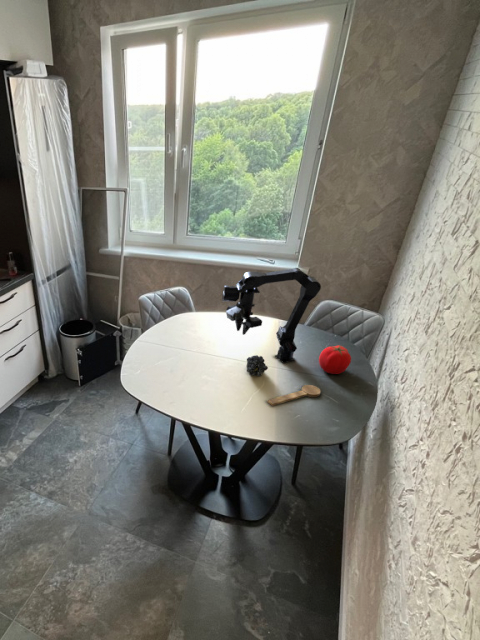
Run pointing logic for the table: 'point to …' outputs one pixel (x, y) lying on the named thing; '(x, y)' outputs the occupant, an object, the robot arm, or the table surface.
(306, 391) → the spoon
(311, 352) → the table surface
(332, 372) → the tomato
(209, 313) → the table surface
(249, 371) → the fruit
